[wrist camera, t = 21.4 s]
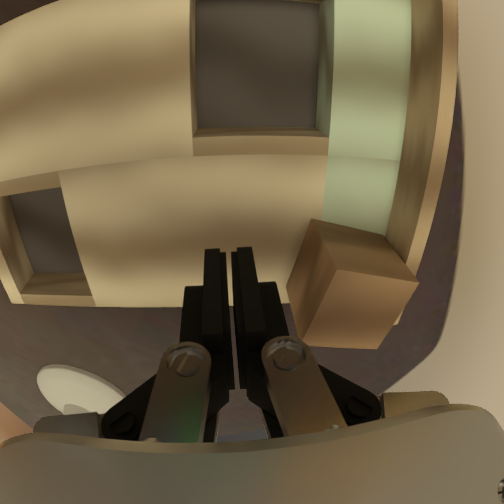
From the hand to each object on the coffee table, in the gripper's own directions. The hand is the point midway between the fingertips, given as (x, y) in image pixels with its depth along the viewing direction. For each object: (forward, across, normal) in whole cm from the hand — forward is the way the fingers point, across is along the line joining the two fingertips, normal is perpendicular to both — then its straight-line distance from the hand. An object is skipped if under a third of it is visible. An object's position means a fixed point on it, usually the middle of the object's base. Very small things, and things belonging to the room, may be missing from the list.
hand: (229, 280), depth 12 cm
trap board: (+10, +4, -3) cm, 11 cm away
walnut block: (+6, -7, +4) cm, 10 cm away
